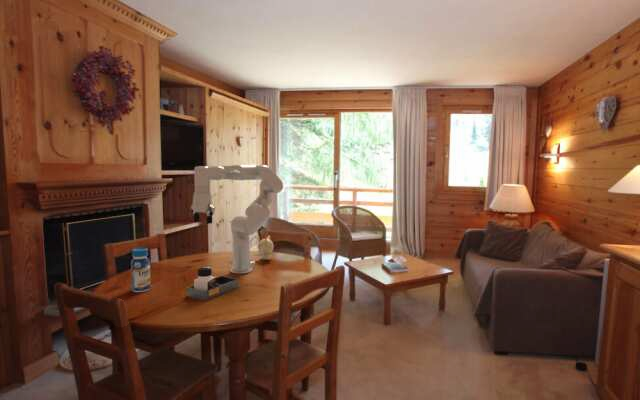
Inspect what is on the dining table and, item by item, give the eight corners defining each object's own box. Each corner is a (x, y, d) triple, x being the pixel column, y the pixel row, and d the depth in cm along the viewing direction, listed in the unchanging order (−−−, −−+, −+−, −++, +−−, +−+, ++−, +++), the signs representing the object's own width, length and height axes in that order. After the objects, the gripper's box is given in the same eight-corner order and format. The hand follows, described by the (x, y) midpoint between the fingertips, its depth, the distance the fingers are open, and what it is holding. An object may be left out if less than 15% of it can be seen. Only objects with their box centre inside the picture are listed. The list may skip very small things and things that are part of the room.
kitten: (261, 256, 245) (261, 234, 243) (276, 256, 244) (276, 234, 242) (255, 261, 230) (255, 238, 229) (270, 262, 229) (270, 238, 228)
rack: (222, 283, 188) (222, 275, 188) (238, 287, 182) (238, 279, 182) (186, 296, 169) (186, 287, 169) (204, 301, 163) (204, 292, 163)
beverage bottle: (141, 286, 183) (140, 246, 181) (154, 288, 180) (153, 248, 178) (127, 291, 175) (125, 250, 173) (141, 293, 172) (139, 251, 170)
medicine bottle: (208, 296, 167) (207, 270, 166) (194, 294, 169) (193, 269, 168) (216, 291, 174) (215, 266, 173) (202, 289, 176) (202, 265, 175)
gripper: (185, 189, 192) (186, 222, 193) (208, 191, 183) (209, 225, 184) (196, 189, 198) (197, 220, 200) (219, 190, 189) (220, 223, 191)
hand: (203, 222), depth 192 cm, fingers open, 9 cm apart
